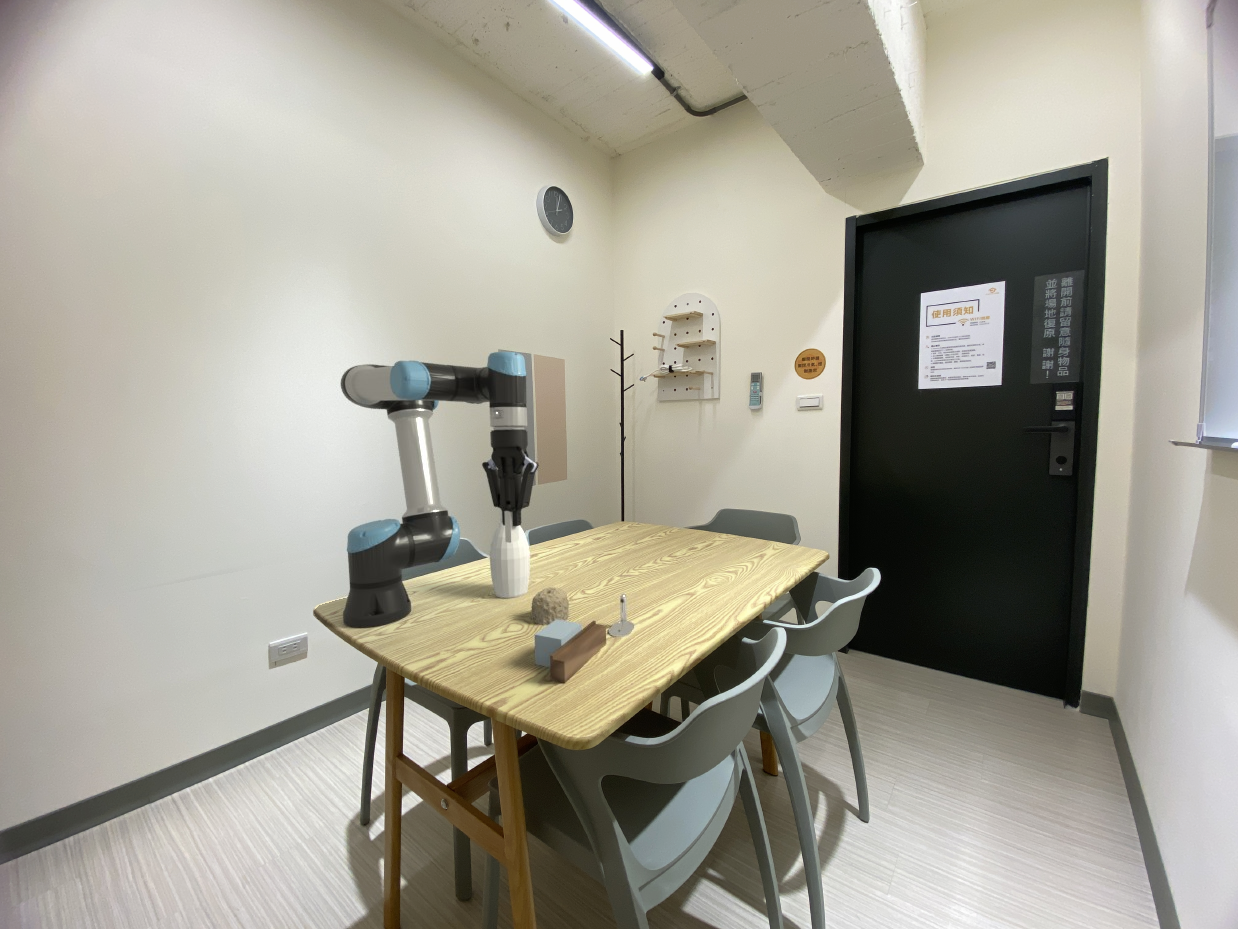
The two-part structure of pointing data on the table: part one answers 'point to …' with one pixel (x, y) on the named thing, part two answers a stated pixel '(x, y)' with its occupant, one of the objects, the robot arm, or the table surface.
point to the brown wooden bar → (577, 652)
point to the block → (553, 639)
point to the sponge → (550, 606)
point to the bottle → (509, 564)
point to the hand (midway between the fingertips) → (512, 540)
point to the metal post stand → (622, 621)
